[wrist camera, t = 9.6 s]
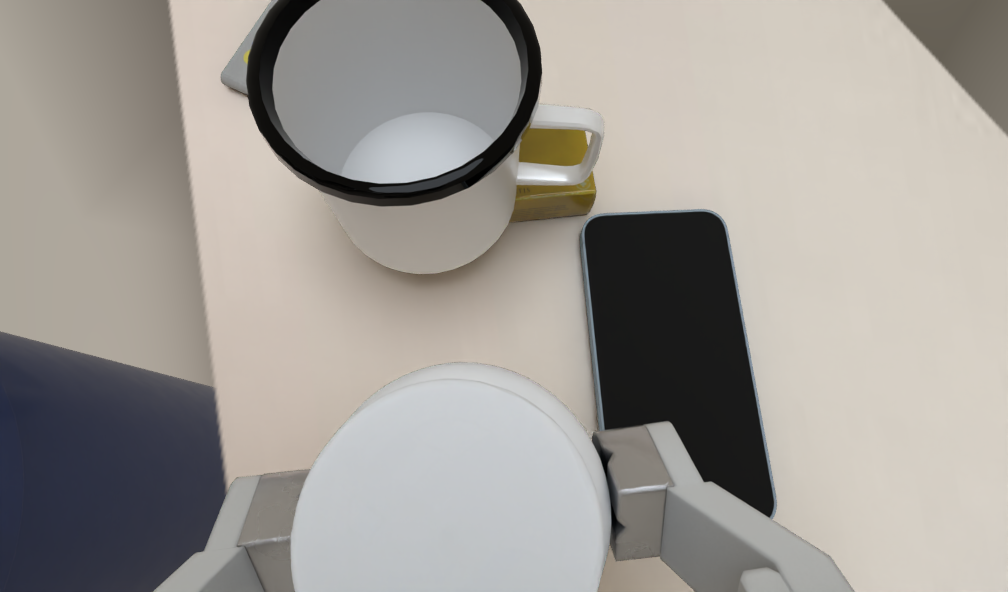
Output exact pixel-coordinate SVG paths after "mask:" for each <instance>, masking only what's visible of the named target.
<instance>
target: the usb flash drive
mask: <svg viewBox="0 0 1008 592" xmlns="http://www.w3.org/2000/svg"><path fill="white" fill-rule="evenodd" d="M277 1H278V0H272V1H271V2H270V3H269V5H268V6H267V8H266V9H265V11H264V12H263V14H262V15H261V16H260V18H259V19H258V21H257V22H256V24H255V25H254V27H253V28H252V30H251V31H250V32H249V34H248V35H247V37H246V38H245V40H244V41H243V43H242V44H241V45H240V47H239V48H238V50H237V51H236V53H235V54H234V56H233V57H232V58H231V60H230V61H229V63H228V64H227V66H226V67H225V69H224V70H223V71H222V73H221V81H222V83H223V84H224V85H226V86H228V87H231V88H233V89H235V90H237V91H240V92H242V93H244V94H247V95H248V92H247V85H246V75H247V64H248V55H249V52H250V49H251V46H252V43H253V40H254V37H255V34H256V32H257V30H258V28H259V27H260V25H261V23H262V21H263V20H264V18H265V16H266V15H267V13H268V11H269V10H270V9H271V8H272V7H273V5H274V4H275V3H276V2H277Z"/></svg>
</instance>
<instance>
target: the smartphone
mask: <svg viewBox="0 0 1008 592" xmlns="http://www.w3.org/2000/svg"><path fill="white" fill-rule="evenodd" d="M580 249H581V259H582V269H583V278H584V288H585V298H586V308H587V317H588V327H589V337H590V346H591V356H592V366H593V376H594V385H595V395H596V405H597V415H598V424H599V431H602V430H609V429H616V428H623V427H630V426H638V425H644V424H650V423H657V422H664V421H669V422H670V423H671V424H672V425H673V427H674V428H675V430H676V432H677V434H678V436H679V438H680V439H681V441H682V443H683V445H684V447H685V449H686V450H687V452H688V454H689V456H690V458H691V460H692V461H693V463H694V465H695V467H696V469H697V471H698V472H699V474H700V476H701V478H702V480H703V482H713V483H715V484H716V485H718V486H719V487H721V488H723V489H724V490H726V491H727V492H729V493H731V494H732V495H734V496H735V497H737V498H738V499H740V500H742V501H743V502H745V503H746V504H748V505H750V506H751V507H753V508H754V509H756V510H758V511H759V512H761V513H762V514H764V515H766V516H767V517H769V518H770V519H773V517H774V515H775V513H776V507H777V500H776V494H775V488H774V482H773V477H772V471H771V466H770V460H769V455H768V449H767V444H766V438H765V433H764V427H763V422H762V416H761V411H760V405H759V400H758V394H757V389H756V383H755V378H754V372H753V367H752V361H751V356H750V350H749V345H748V339H747V334H746V328H745V323H744V317H743V311H742V306H741V300H740V295H739V289H738V284H737V278H736V273H735V267H734V262H733V256H732V251H731V245H730V240H729V234H728V229H727V226H726V224H725V222H724V220H723V219H722V218H721V217H720V216H719V215H718V214H717V213H715V212H713V211H710V210H705V209H695V210H672V211H650V212H627V213H604V214H598V215H594V216H592V217H591V218H589V219H588V220H587V221H586V223H585V224H584V226H583V229H582V231H581V234H580Z"/></svg>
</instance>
